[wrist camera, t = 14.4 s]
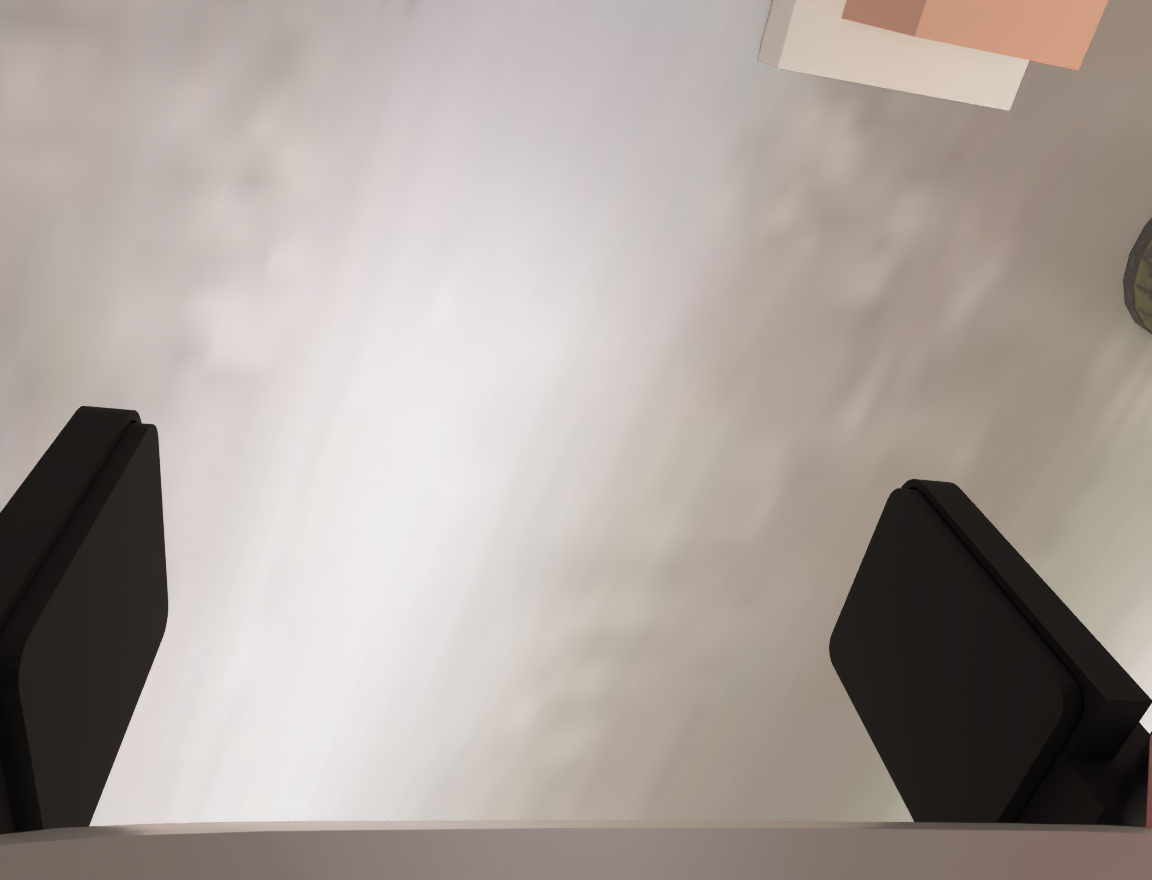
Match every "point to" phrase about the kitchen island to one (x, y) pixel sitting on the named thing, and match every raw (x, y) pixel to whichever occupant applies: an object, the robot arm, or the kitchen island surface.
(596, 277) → the kitchen island surface
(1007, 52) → the cube
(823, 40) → the block
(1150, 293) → the thermos
